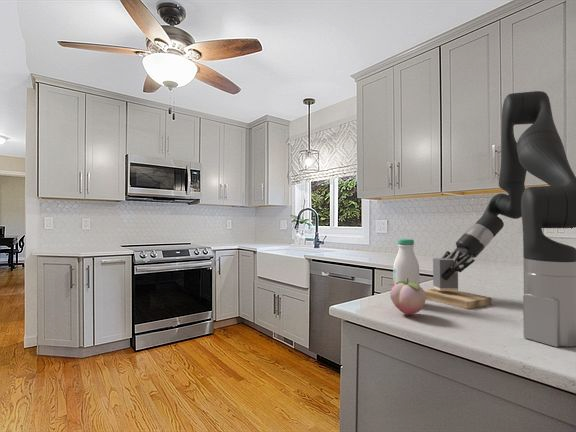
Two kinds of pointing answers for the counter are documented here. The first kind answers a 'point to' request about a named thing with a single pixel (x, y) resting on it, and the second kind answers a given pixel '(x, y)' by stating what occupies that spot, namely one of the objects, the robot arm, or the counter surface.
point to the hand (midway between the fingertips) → (439, 276)
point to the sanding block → (438, 269)
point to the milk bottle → (406, 263)
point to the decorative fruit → (408, 297)
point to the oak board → (457, 298)
